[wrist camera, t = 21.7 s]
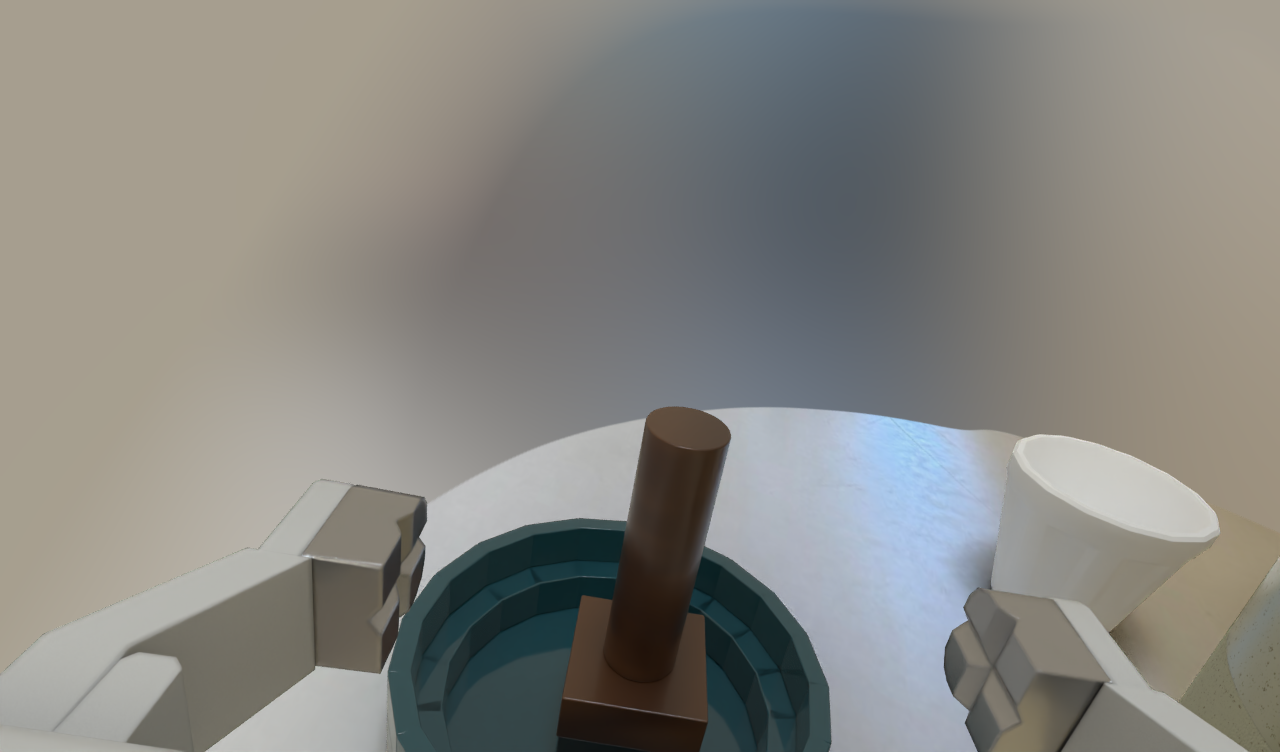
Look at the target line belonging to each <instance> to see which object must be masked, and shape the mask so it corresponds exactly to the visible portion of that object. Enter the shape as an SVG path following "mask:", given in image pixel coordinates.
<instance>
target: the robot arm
mask: <svg viewBox="0 0 1280 752" xmlns="http://www.w3.org/2000/svg"><path fill="white" fill-rule="evenodd" d="M426 522H427V502H426V500H425V498H424V497H421V496H416V495H410V494H404V493H399V492H394V491H388V490H383V489H378V488H372V487H367V486H361V485H353V484H349V483H343V482H337V481H331V480H325V479H321V480H318V481H315V482H314V483H312V485H311V486H310V487H309V488H308V489H307V491H306V492H305V493H304V494H303V496H302V497H301V498H300V499H299V500H298V501H297V503H296V504H295V505H294V506H293V507H292V509H291V510H290V511H289V512H288V513H287V515H286V516H285V517H284V518H283V519H282V521H281V522H280V523H279V524H278V526H277V527H276V528H275V529H274V530H273V532H272V533H271V534H270V535H269V536H268V538H267V539H266V540H265V541H264V543H263V544H262V545H261V546H260V547H259V548H258V549H254V548H245V549H242V550H240V551H238V552H235V553H233V554H231V555H228V556H226V557H223V558H221V559H219V560H216V561H214V562H212V563H209V564H207V565H204V566H202V567H200V568H197V569H195V570H193V571H190V572H188V573H186V574H183V575H181V576H179V577H176V578H174V579H172V580H169V581H167V582H164V583H162V584H160V585H157V586H155V587H153V588H150V589H148V590H146V591H143V592H141V593H138V594H136V595H134V596H132V597H129V598H127V599H124V600H122V601H120V602H117V603H115V604H113V605H110V606H108V607H105V608H103V609H101V610H98V611H96V612H94V613H92V614H89V615H87V616H84V617H82V618H79V619H77V620H75V621H73V622H70V623H68V624H65V625H63V626H61V627H58V628H56V629H54V630H51V631H49V632H46V633H44V634H43V635H42V636H41V637H40V638H39V639H37V640H36V641H35V642H34V643H33V644H32V645H31V646H30V647H29V648H28V649H27V650H26V651H24V652H23V653H22V654H21V655H20V656H19V657H18V658H17V659H16V660H15V661H14V662H13V663H12V664H10V665H9V666H8V667H7V668H6V669H5V670H4V671H3V672H2V673H1V674H0V752H205V751H206V750H208V749H209V748H210V747H212V746H213V745H214V744H216V743H217V742H218V741H220V740H221V739H222V738H224V737H225V736H226V735H228V734H229V733H230V732H232V731H233V730H235V729H236V728H237V727H239V726H240V725H241V724H243V723H244V722H245V721H247V720H248V719H249V718H251V717H252V716H253V715H255V714H256V713H257V712H259V711H260V710H261V709H263V708H264V707H265V706H267V705H268V704H269V703H271V702H272V701H273V700H275V699H276V698H278V697H279V696H280V695H282V694H283V693H284V692H286V691H287V690H288V689H290V688H291V687H292V686H294V685H295V684H296V683H298V682H299V681H300V680H302V679H303V678H304V677H306V676H307V675H308V674H310V673H311V672H312V671H314V670H315V666H322V667H330V668H338V669H346V670H354V671H362V672H370V673H379V674H380V673H381V671H382V669H383V667H384V665H385V662H386V660H387V658H388V656H389V654H390V652H391V650H392V647H393V645H394V643H395V641H396V639H397V637H398V627H399V617H401V616H402V615H404V614H406V613H407V612H409V611H410V609H411V606H412V604H413V602H414V599H415V597H416V594H417V591H418V588H419V584H420V581H421V577H422V572H423V566H424V560H425V545H424V543H423V542H422V541H421V539H420V538H419V536H420V534H421V532H422V530H423V528H424V526H425V524H426ZM963 608H964V611H965V613H966V616H967V619H968V621H966V622H965V623H963V624H962V625H960V626H958V627H957V628H955V629H954V630H952V633H951V635H950V637H949V640H948V642H947V644H946V647H945V657H944V669H945V675H946V680H947V683H948V685H949V688H950V690H951V692H952V695H953V696H954V697H955V698H956V699H957V700H958V701H959V702H960V703H961V704H962V705H963V706H964V707H966V708H967V709H968V710H969V713H968V716H967V719H966V721H965V724H966V726H967V729H968V731H969V733H970V735H971V738H972V740H973V742H974V744H975V746H976V749H977V751H978V752H1249V751H1247V750H1246V749H1244V748H1243V747H1242V746H1240V745H1239V744H1237V743H1236V742H1234V741H1233V740H1231V739H1230V738H1229V737H1227V736H1226V735H1224V734H1223V733H1221V732H1220V731H1219V730H1217V729H1216V728H1214V727H1213V726H1211V725H1210V724H1208V723H1207V722H1206V721H1204V720H1203V719H1201V718H1200V717H1198V716H1197V715H1195V714H1194V713H1193V712H1191V711H1190V710H1188V709H1187V708H1185V707H1184V706H1183V705H1181V704H1180V703H1178V702H1177V701H1175V700H1174V699H1172V698H1171V697H1170V696H1168V695H1167V694H1165V693H1164V692H1160V691H1154V690H1152V689H1151V688H1150V686H1149V685H1148V684H1147V683H1146V681H1145V680H1144V679H1143V677H1142V676H1141V675H1140V673H1139V672H1138V671H1137V669H1136V668H1135V667H1134V666H1133V664H1132V663H1131V662H1130V660H1129V659H1128V658H1127V656H1126V655H1125V654H1124V652H1123V651H1122V650H1121V649H1120V647H1119V646H1118V645H1117V643H1116V642H1115V641H1114V639H1113V638H1112V637H1111V636H1110V634H1109V633H1108V632H1107V630H1106V629H1105V628H1104V626H1103V625H1102V624H1101V622H1100V621H1099V620H1098V619H1097V617H1096V616H1095V615H1094V613H1093V612H1092V611H1091V609H1090V608H1089V607H1087V606H1085V605H1084V604H1082V603H1081V602H1079V601H1073V600H1065V599H1058V598H1050V597H1044V598H1042V597H1035V596H1029V595H1023V594H1016V593H1010V592H1004V591H997V590H991V589H985V588H977V589H976V590H975V591H974V592H972V593H971V594H970V595H969V597H968V599H967V601H966V603H965V605H964V607H963Z"/></svg>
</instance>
